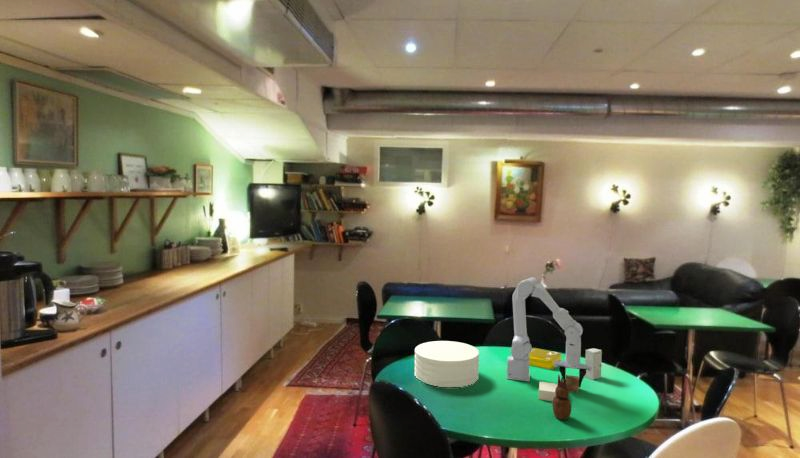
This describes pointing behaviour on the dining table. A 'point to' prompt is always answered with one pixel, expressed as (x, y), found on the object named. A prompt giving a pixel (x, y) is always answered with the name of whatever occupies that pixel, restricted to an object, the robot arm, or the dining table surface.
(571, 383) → the walnut cube
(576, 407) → the dining table surface
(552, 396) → the cream base block
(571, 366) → the robot arm
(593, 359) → the skincare box
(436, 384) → the plate stack
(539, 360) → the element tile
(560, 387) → the wooden figurine
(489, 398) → the dining table surface
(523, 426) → the dining table surface
